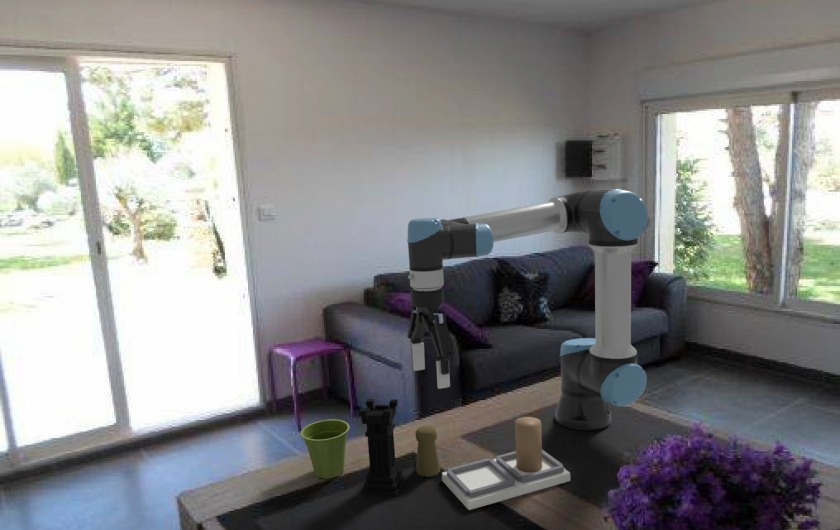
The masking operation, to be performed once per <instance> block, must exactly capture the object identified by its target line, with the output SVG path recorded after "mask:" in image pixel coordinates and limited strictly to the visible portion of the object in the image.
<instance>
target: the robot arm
mask: <svg viewBox="0 0 840 530" xmlns="http://www.w3.org/2000/svg"><path fill="white" fill-rule="evenodd" d="M648 221H649V212H648V209H647V205H646V204H645V202H644V200H643V199H642V198H641V197H640V196H639V195H638V194H637V193H635V192H633V191H630V190H629V191H628V190H623V189H618V188H616V189H599V188H590V189H589V188H588V189H583V190H580V191H575V192H571V193H567V194H564V195H560V196H559V195H558V196H554V197H551V198H550V199H549V200H548V201H547V202H542V203H538V204H531V205H526V206H520V207H515V208H508V209H504V210H497V211H493V212H491V211H490V212H487V213H480V214H476V215H470V216H463V217H458V218H452V219H444V218H443V219H440V218H436V217H427V218H425V217H424V218H421V217H420V218H414V219H411V220H410V221H409V222H408V225H407V240H406V241H407V248H408V261H409V267H408V268H409V275H408V276H407V278H408V279H409V285H410V287H411V289H410V304H411V305H410V306H411V307H410V308H411V310H410V311H411V314H410V317H409V319H410V320H409V323H408V325H409V326H408V331H407V338H408V340H410V342H411V345H412V346H411V349H412V366H413V367H412V369H413V371H414V372H416V371H422V370H425V369H426V363H425V362H426V361H425V343H424V342H425V338H424V336H425V334H426V332H427V333H428V334H429V335H430V338H431V340H432V344H433V347H434V350H435V353H436V356H437V357H436V358H435V363H436V380H437V381H436V384H437V385H436V386H437V389H438V390H440V389H446V388H450V387H451V379H450V377H451V376H450V375H451V374H450V373H451V372H450V360H452V359H454V358H455V353H454V349H453V345H452V340H451V337H450V332H449V328H448V323H447V315H446V313H444V312H443V313H440V312H439V307H440V306H443V305H444V303H445V291H444V290H445V289H444V288H443V286H444V283H445V282H444V281H445V280H444V264H443V262H444V261H445V260H452V259H453V260H454V259H455V260H456V259H465V258H466V259H467V258H479V257H483V256H489V254H491V253H492V251H493V248H494V243H496V242H501V241H506V240H512V239H516V238H522V237H528V236H533V235H538V234H543V233H549V232H554V233H556V234H564V233H583V234H587V235H588V246H589V247H590V248H591V249H592V250H593V251H594V265H595V266H594V276H595V277H594V288H595V289H594V291H595V292H594V295H595V296H594V297H595V298H594V300H595V301H594V303H595V305H594V306H595V307H594V310H595V311H594V313H595V314H594V316H595V317H594V318H595V324H594V325H595V337H594V338H593V337H592V338H591V337H584V338H583V337H581V338H574V339H569V340H565V341H564V342H562V344H561V345H560V353H559V357H560V382H561V383H560V385H561V386H560V388H561V390H560V395H559V399H558V402H557V406H556V408H555V420H556V422H557V423H558V424H559V425H560V426H562V427H566V428H568V429H572V430H579V431H596V430H601V429H604V428H606V427H608V426H610V424H611V422H612V413H611V410H610V406H609V404H612V405H613V406H615V407H627V406H629V405H632V404H634V403H635V402H636V401H637V400H638V398H640V397H641V396H642V395H643V393H644V392H645V389H646V386H647V383H648V382H647V381H648V379H647V374H646V371H645V370H644V369H643V367H642V366H641V365H639V364H638V352H637V351H638V350H637V349H636V347H634V346H633V345H632V344H631V343H632V339H631V338H632V336H631V334H632V251H633V250H634V249H635V248H636V247H637V246H638V245H639V244H638V243H639V242H638V241H639V240H638V237H639V238H640V236H642V234H643V233H644V230H646V228H647V225H648Z"/></svg>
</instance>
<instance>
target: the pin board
mask: <svg viewBox="0 0 840 530" xmlns="http://www.w3.org/2000/svg"><path fill="white" fill-rule="evenodd" d="M514 432H515V434H514V435H515V450H514V451H511V452H506V453H504V454H499V455H496V456H495V458H493V459H491V458H490V457H488V458H483V459H479V460H476V461H473V462H472V461H471V462H469V463H464V464H461V465H457V466H456V465H455V466H453V467H449V468H447V469H446V471H442V472H441V482H443V483H444V484H445V485H446V487H447V488H448V489H449V490H450V491H451V492H452V494H453V495H455V497H456V498H457V499H458V500H459V501H460V502H461V503H462V504H463V505H464V507H465V508H466V509H467V510H468V511H471V510H474V509H478V508H481V507H484V506H487V505H492V504H496V503H498V502H502V501H505V500H506V501H507V500H509V499H512V498H516V497H520V496H523V495H526V494H530V493H534V492H536V491H540V490H544V489H547V488H551V487H554V486H557V485H560V484H564V483H567V482H571V472H570V471H568V470H567V469H566V468H565V466H564V464H563V463H562V462H561V461H559V460H558V459H556V458H554V457H553V456H552V455H550V454H549V453H548V452H547V451H545V450H544V449H543V446H542V445H543V443H542V442H543V441H542V439H543V438H542V421H541V420H540V419H539V418H537V417H534V416H533V417H532V416H523V417H519V418H517V419H515V421H514Z"/></svg>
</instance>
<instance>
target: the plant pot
mask: <svg viewBox="0 0 840 530" xmlns="http://www.w3.org/2000/svg"><path fill="white" fill-rule="evenodd" d="M350 428H351V427H350V424H349V423H348V422H347V421H344V420H341V419H324V420H319V421H315V422H312V423H309V424H308V425H306V426H305V427H303V428H302V429H301V431H300V436H301V437H302V438H303V440H304V443H305V445H306V447H307V451H308V454H309V459H310V460H311V465H312V468H313V472H314V475H315V477H316V478H322V479H326V480H327V479H332V478H336V477H339V476H340V475H341V474H342V473H344V471H345V464H346V463H345V460H346V448H347V447H346V446H347V439H348V438H347V437H348V432H349V430H350Z"/></svg>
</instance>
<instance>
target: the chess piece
mask: <svg viewBox="0 0 840 530" xmlns="http://www.w3.org/2000/svg"><path fill="white" fill-rule="evenodd" d="M388 403H389V404H376V403H375V398H367V399H366V401H365V407H366V408H365V407H364V408H363V407H362V408H360V409H358V417H360V418H361V425H366V431H365V433H364V436H365V438H367V448H368V460H369V463H368V464H369V471H368V473H366V474H367V475H365V476H366V477H365V482H364V487H363V490H362V496H363V495H365V496H381V497H382V496H383V497H398V495H399V493H400V490H401V488H402V487H403V484H404V482H405V479H406V477H405V475H403V469H400V468H401V464H398V463H396V451H395V440H394V439H395V438H394V437H395V436H394V429H395V428H396V424H395V423H393V422H394V421H393V420H394V418H395V416H396V415H397V406H398V405H399V401H398V399H390V400H389V402H388ZM403 481H404V482H403Z"/></svg>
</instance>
